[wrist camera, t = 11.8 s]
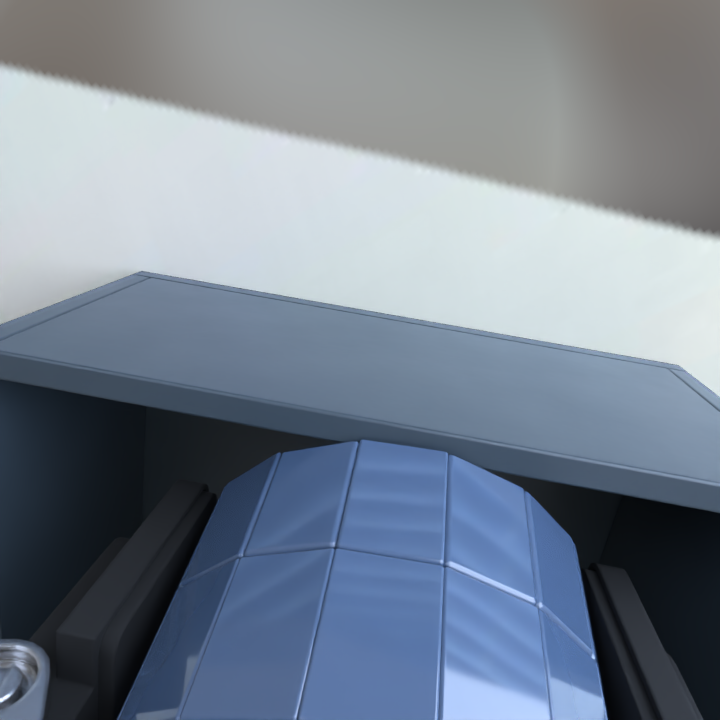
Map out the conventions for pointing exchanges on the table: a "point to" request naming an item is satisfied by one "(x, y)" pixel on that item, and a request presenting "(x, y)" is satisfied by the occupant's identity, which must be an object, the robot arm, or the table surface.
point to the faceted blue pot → (374, 599)
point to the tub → (346, 433)
